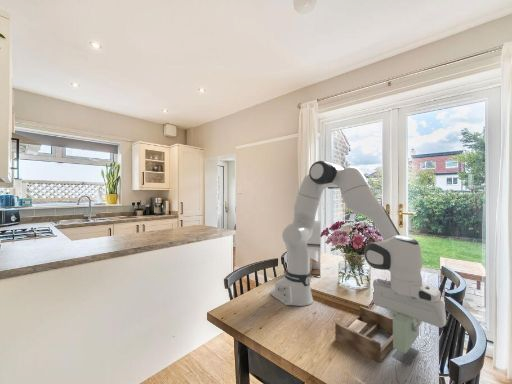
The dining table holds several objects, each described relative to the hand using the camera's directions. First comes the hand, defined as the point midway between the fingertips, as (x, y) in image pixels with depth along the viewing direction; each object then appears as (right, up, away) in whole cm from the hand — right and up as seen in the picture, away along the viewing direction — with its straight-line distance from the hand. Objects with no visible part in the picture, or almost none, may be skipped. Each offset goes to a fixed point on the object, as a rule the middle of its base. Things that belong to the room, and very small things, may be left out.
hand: (406, 327), depth 74 cm
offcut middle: (-12, -8, +11) cm, 18 cm away
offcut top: (-12, -7, +11) cm, 17 cm away
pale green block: (0, -4, 0) cm, 4 cm away
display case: (-13, -10, +76) cm, 78 cm away
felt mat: (0, -9, 0) cm, 9 cm away
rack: (-8, -9, +8) cm, 15 cm away
